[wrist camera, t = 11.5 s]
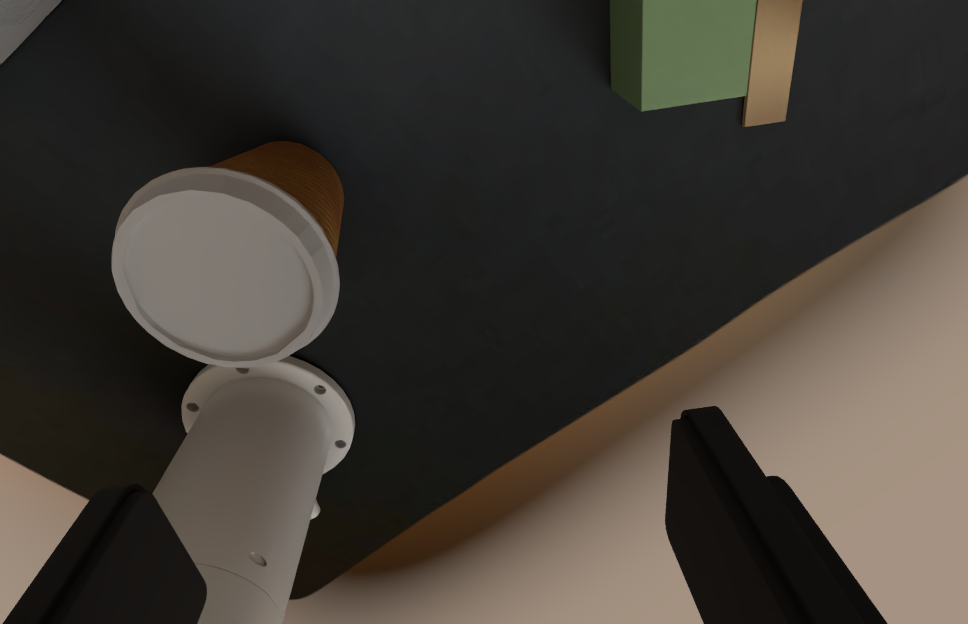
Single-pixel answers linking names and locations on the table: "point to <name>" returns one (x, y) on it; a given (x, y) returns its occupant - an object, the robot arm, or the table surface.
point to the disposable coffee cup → (234, 255)
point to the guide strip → (771, 61)
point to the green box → (680, 50)
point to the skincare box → (20, 22)
